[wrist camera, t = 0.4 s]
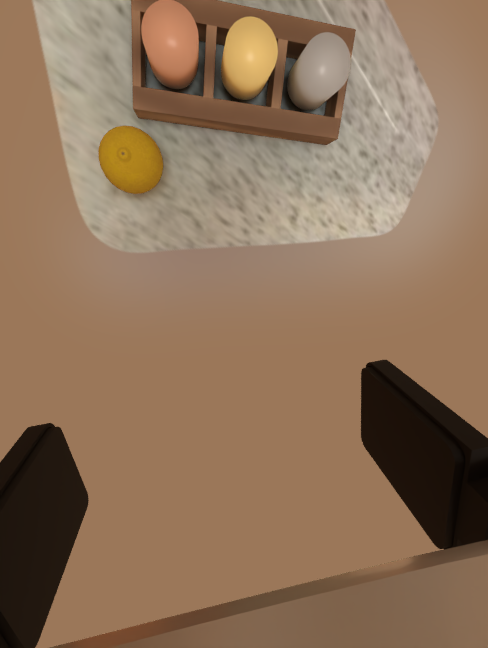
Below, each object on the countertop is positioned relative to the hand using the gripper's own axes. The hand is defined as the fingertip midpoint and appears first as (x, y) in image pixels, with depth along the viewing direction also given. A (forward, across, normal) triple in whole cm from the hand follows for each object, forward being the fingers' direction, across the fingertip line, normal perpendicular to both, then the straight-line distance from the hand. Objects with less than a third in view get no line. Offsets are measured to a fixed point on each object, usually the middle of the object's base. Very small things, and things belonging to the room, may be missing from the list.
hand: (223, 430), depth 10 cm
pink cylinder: (+28, -1, -19) cm, 34 cm away
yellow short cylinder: (+28, -7, -18) cm, 34 cm away
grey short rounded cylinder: (+28, -13, -17) cm, 35 cm away
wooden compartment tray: (+30, -7, -18) cm, 36 cm away
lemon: (+30, +5, -11) cm, 32 cm away
